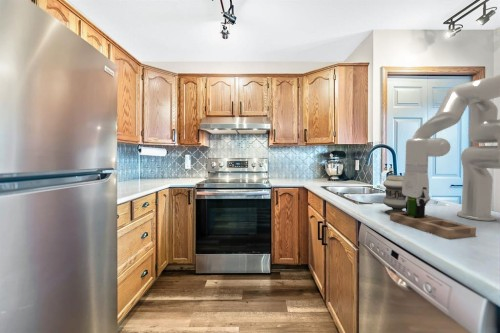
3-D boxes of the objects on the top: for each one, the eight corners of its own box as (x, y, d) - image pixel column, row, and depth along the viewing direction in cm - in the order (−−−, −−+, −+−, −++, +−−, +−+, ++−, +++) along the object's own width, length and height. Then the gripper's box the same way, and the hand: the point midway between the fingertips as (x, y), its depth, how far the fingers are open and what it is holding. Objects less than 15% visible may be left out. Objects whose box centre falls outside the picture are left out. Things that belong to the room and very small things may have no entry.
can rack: (389, 220, 103) (390, 213, 103) (412, 218, 106) (412, 211, 106) (448, 239, 80) (449, 230, 79) (475, 236, 82) (476, 227, 82)
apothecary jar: (378, 210, 121) (379, 174, 120) (404, 211, 119) (405, 174, 118) (388, 216, 109) (390, 176, 108) (417, 217, 107) (419, 177, 106)
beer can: (419, 225, 95) (420, 195, 94) (404, 222, 99) (405, 193, 99) (425, 223, 98) (426, 194, 97) (410, 220, 102) (411, 192, 102)
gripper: (394, 168, 106) (393, 208, 107) (421, 170, 89) (420, 219, 90) (411, 168, 106) (410, 208, 107) (442, 170, 89) (440, 219, 90)
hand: (414, 213), depth 98 cm, fingers closed on beer can, 5 cm apart
